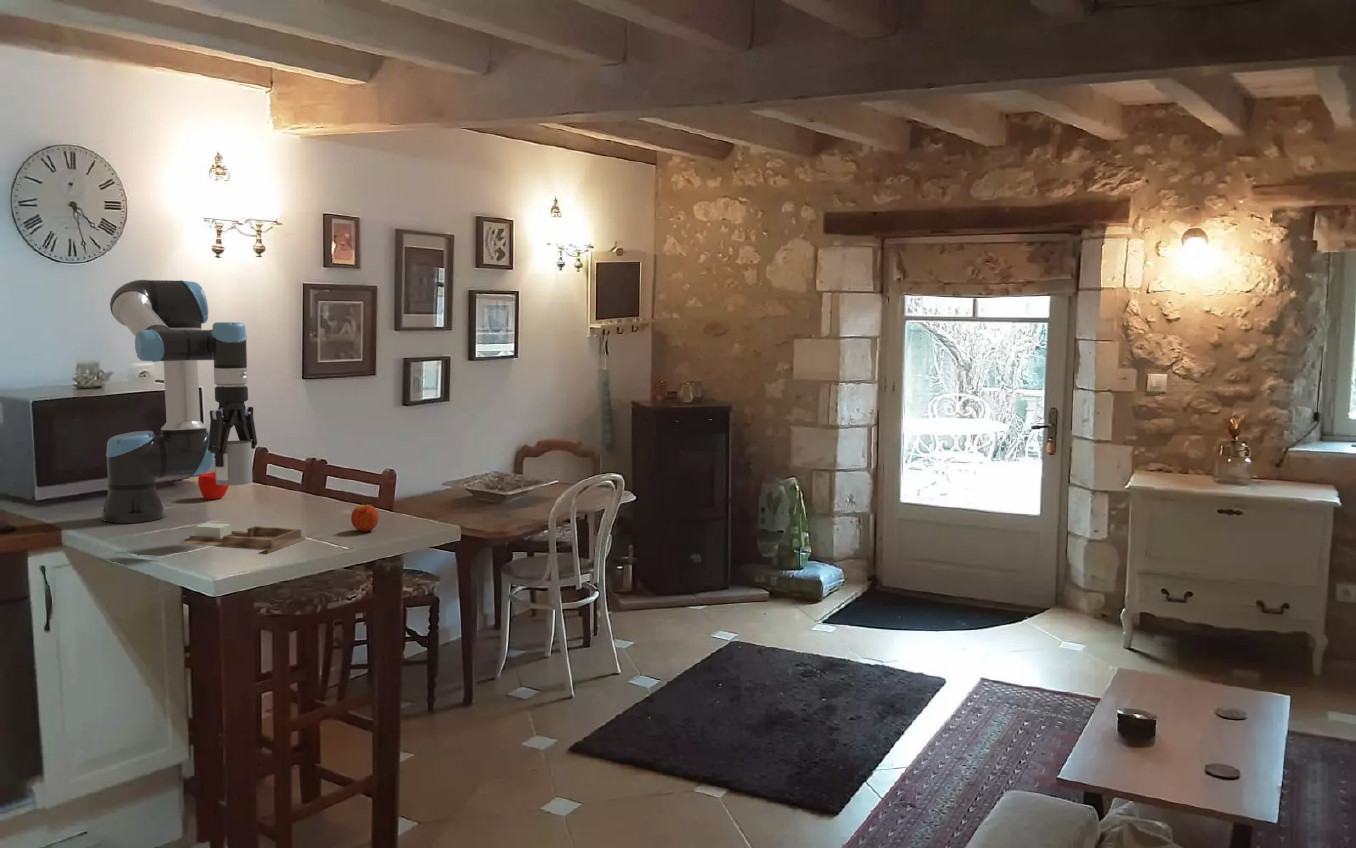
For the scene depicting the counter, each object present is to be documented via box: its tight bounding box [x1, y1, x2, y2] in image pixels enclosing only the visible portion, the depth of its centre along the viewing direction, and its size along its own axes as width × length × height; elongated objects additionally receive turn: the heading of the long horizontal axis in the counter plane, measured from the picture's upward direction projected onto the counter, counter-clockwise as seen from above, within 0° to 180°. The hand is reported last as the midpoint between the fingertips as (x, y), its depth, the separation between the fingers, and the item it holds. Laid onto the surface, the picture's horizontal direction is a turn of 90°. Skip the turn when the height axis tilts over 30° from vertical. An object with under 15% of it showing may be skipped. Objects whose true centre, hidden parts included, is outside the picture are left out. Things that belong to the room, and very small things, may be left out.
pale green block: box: [194, 522, 232, 538], centre depth 270 cm, size 7×4×3 cm, turn 77°
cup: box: [214, 440, 253, 486], centre depth 267 cm, size 8×8×10 cm
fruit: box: [350, 500, 380, 533], centre depth 285 cm, size 7×7×8 cm
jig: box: [180, 525, 306, 555], centre depth 268 cm, size 24×16×3 cm, turn 77°
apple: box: [197, 471, 230, 501], centre depth 326 cm, size 9×9×8 cm
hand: (234, 477), depth 267 cm, fingers closed on cup, 8 cm apart
